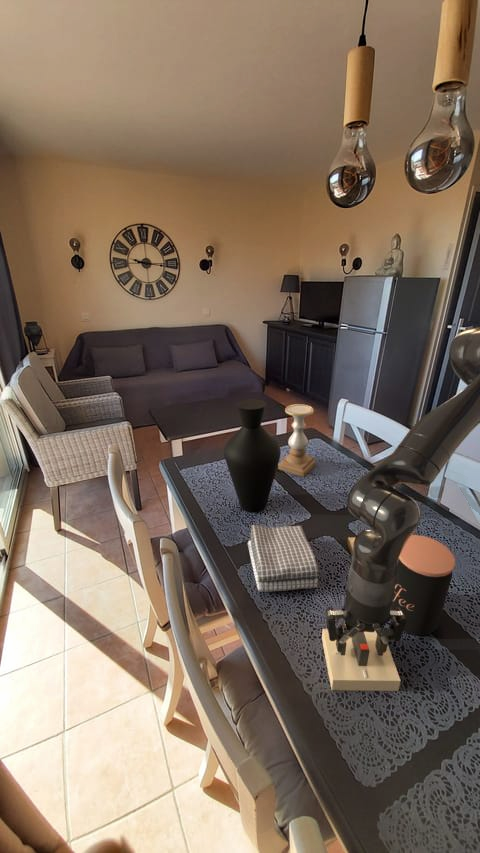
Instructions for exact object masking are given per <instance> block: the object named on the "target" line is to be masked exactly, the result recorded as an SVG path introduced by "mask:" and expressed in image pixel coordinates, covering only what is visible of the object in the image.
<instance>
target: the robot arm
mask: <svg viewBox="0 0 480 853" xmlns="http://www.w3.org/2000/svg"><path fill="white" fill-rule="evenodd" d="M448 350H449V351H448V357H449V358H448V359H449V362H450V366H451V367H452V370H453V372H454V374H456V376H457V377H458V378H459V379H460V380H461V381H462V382H463V383H464V384H465V385H466V386H465V387H464V388H463V389H462V390H461V391H459V392H458V393H457V394H455V395H453V396H452V397H451V398H449V399H448V400H446V401H445V402H443V403H442V404H439V406H437V407H435V408H434V409H432V410H430V411H429V412H428V413H427V414H425V415H424V416H422V417H421V418H420V419H419V420H418V421H417V422H415V424H414V425H413V426H412V427H411V428H410V429H409V431H408V432H407V433H406V435H404V437H403V438H402V440H401V441H400V443H399V444H398V445H397V447H396V448H395V449H394V451H393V452H392V453H391V454H390V455H389V456H388V457H386V458H385V459H384V460H382V461H381V462H380V463H379V464H377V465H375V467H373V468H372V469H371V470H369V471H368V472H367V473H365V474H364V475H363V476H361V477H360V478H358V480H357V481H356V482H355V483H354V484H353V485H352V487H351V489H350V491H349V493H348V494H347V499H346V501H347V502H346V506H347V510H348V512H349V513H350V514H351V515H352V516H353V517H354V518H355V519H357V520H358V521H360V522H361V523H363V524H365V525H366V526H367V527H369V528H366V529H363V530H361V531H359V532H358V533H357V534H356V535H355V536H354V537H355V540H354V545H353V553H352V555H351V562H350V566H349V568H348V574H347V582H346V589H345V598H344V606H342V607H341V609H340V610H334V608H333V607H331V606H327V607H326V608H325V616H326V618H325V619H326V629H327V630H328V633H329V639H330V641H335V640H336V647H337V651H338V652H340V654H341V655H345V652H346V644H347V643H346V641H347V640H348V639H349V638H353V637H354V636H355V635H356V634H357V633H358V632H374V631H376V633H377V638H376V644H375V646H376V650H377V653H378V655H379V656H383V653H385V652H386V650H387V645H388V646H389V643H390V641H394V642H399V641H401V638H402V637H403V634H404V628H405V625H406V623H407V619H406V617H405V615H404V612H403V610H402V608H401V607H397V608H395V611H391V605H392V600H393V595H394V592H395V583H396V570H397V565H398V560H399V556H400V554H401V552H402V550H403V548H404V546H405V544H406V543H407V541H408V539H409V538H410V537H411V535H414V532H415V531H416V530H417V528H418V526H419V524H420V522H421V510H420V507H419V505H418V503H417V501H416V500H415V499H414V498H413V497H411V496H409V495H407V494H405V493H404V492H402V491H400V490H398V489H396V488H395V487H397V486H399V485H402V484H403V485H410V486H416V487H420V488H426V487H428V486H430V485H432V483H433V482H434V481H435V480H436V479H437V477H438V476H439V474H440V473H441V472H442V471H443V469H444V467H445V466H446V465H447V464H448V462H449V461H450V459H451V458H452V457H453V455H454V454H455V452H456V451H457V450H458V448H460V446H461V445H462V443H463V442H464V441H465V440H466V438H467V437H468V436H469V435H470V434H472V432H473V431H474V430H475V429H476V428H477V427H478V426H479V425H480V326H477V327H473V328H472V327H471V328H468V329H465V330H463V331H461V332H459V333H458V334H456V335H455V337H453V339H452V340H451V342H450V345H449V349H448ZM391 619H392V620H391ZM340 620H341V623H340V624H339V622H340ZM388 623H389V625H388V628H385V625H386V624H388Z"/></svg>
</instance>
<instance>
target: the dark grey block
mask: <svg viewBox="0 0 480 853" xmlns="http://www.w3.org/2000/svg"><path fill="white" fill-rule="evenodd" d="M352 643H353V647H354V651H355V655H356V659H357V663H358V666H367V663H368V657H369V647H368V644H367V641H366V637H365V634H364V632H358V633H357V634H356V635H355V636H354V637H353V638H352Z"/></svg>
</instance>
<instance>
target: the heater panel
mask: <svg viewBox="0 0 480 853" xmlns="http://www.w3.org/2000/svg"><path fill="white" fill-rule="evenodd" d="M321 633H322V634H321V641H322V646H323V652H324V657H325V662H326V668H327V673H328V679H329V684H330V688H331V691H359V692H361V691H364V692H365V691H366V692H367V691H369V692H399V689H400V686H401V678H400V675H399V672H398V670H397V667H396V664H395V661H394V658H393V655H392V653H391V652H392V651H391V650H390V647H389V644H388V645H387V650H386V652H385V653H383V656H379V655H378V653H377V650H376V646H375V644H376V638H377V633H376V631H374V632H364V634H365V637H366V641H367V644H368V647H369V657H368V663H367V666H358V663H357V659H356V655H355V651H354V647H353V643H352V638H349V639H348V640H347V641H346V643H347V644H346V652H345V655H341V654H340V652H338V651H337V647H336V640H335V641H330V639H329V633H328V630H327V628H322V632H321Z"/></svg>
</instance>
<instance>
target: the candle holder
mask: <svg viewBox="0 0 480 853" xmlns="http://www.w3.org/2000/svg"><path fill="white" fill-rule="evenodd" d="M314 411H315V409H314V407H312V406H311V405H309V404H302V403H295V404H290V405H288V406H285V408H284V412H285V413H286V414H287V415H289V416H291V417H292V418H293V422H292V423H291V427H292V429H293V433H292V434H291V435H290V436H289V438H288V441H287V443H288V446H289V447H290V448H289V453H288V454H287V455H286V456H284V457H283V459H281V461H280V462H279V463H278V466H277V470H280V471H282V472H286V473H289V474H292V475H296V476H299V477H302V478H304V477H306V475H308V474H309V472H310V471H312V470H313V468H314V467H315V466H316V464H317V460H315V458H314V457H313V456H311V455H308V454H306V453H307V450H306V448H307V447H308V445H309V440H308V437H307V436H306V435H305V433H304V431H305V430H304V429H305V428H306V427H307V423H305V419H306V417H308V416H311V415H313V414H314Z"/></svg>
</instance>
